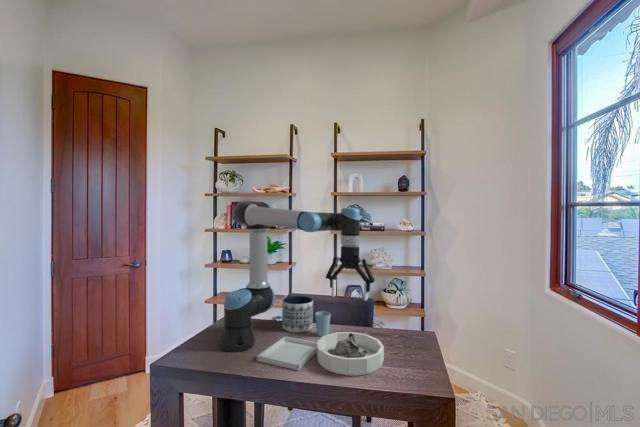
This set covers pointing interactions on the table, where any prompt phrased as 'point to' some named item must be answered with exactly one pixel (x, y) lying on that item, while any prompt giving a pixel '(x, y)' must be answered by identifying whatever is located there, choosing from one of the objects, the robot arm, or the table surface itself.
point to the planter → (297, 313)
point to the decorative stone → (348, 348)
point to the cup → (322, 322)
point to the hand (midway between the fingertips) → (349, 297)
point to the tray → (289, 353)
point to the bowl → (345, 362)
